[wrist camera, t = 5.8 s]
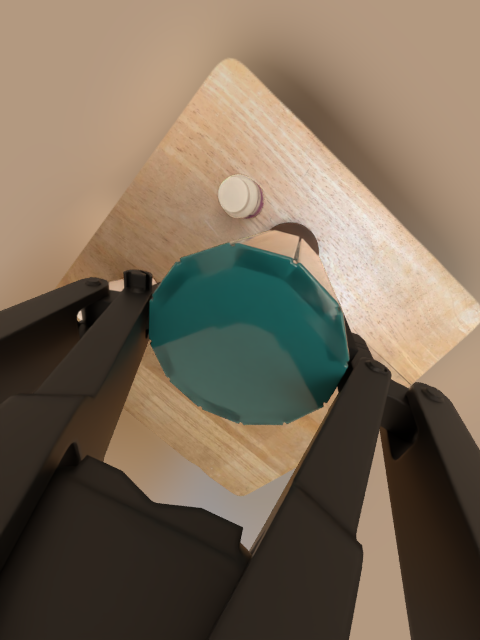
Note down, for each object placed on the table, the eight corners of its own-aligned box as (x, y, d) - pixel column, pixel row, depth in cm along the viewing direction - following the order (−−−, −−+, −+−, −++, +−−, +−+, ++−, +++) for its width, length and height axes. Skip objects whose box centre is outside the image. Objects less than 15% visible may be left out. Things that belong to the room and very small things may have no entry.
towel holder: (267, 215, 36) (232, 212, 18) (328, 230, 34) (352, 242, 17) (253, 273, 40) (213, 315, 23) (305, 289, 39) (306, 345, 21)
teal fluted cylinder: (234, 219, 16) (150, 219, 7) (342, 247, 15) (397, 286, 6) (216, 313, 20) (146, 387, 11) (302, 341, 19) (300, 449, 10)
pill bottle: (229, 211, 37) (206, 208, 29) (240, 176, 34) (219, 162, 26) (257, 223, 37) (243, 225, 28) (270, 189, 34) (259, 179, 26)
